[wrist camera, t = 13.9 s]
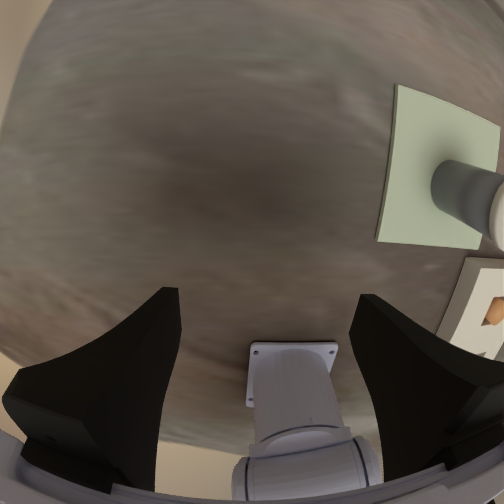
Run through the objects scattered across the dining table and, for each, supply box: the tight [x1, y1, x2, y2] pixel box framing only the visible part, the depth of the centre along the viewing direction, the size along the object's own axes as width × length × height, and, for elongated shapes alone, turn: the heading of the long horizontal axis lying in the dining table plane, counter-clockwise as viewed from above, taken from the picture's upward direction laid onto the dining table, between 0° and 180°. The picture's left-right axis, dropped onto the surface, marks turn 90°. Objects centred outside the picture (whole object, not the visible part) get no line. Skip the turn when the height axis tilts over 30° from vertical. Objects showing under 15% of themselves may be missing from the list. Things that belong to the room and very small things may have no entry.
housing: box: [436, 257, 504, 360], centre depth 25 cm, size 19×12×2 cm, turn 176°
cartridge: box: [431, 160, 504, 251], centre depth 15 cm, size 5×5×8 cm
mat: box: [375, 85, 500, 250], centre depth 19 cm, size 12×12×1 cm
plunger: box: [485, 297, 504, 326], centre depth 23 cm, size 3×3×2 cm
